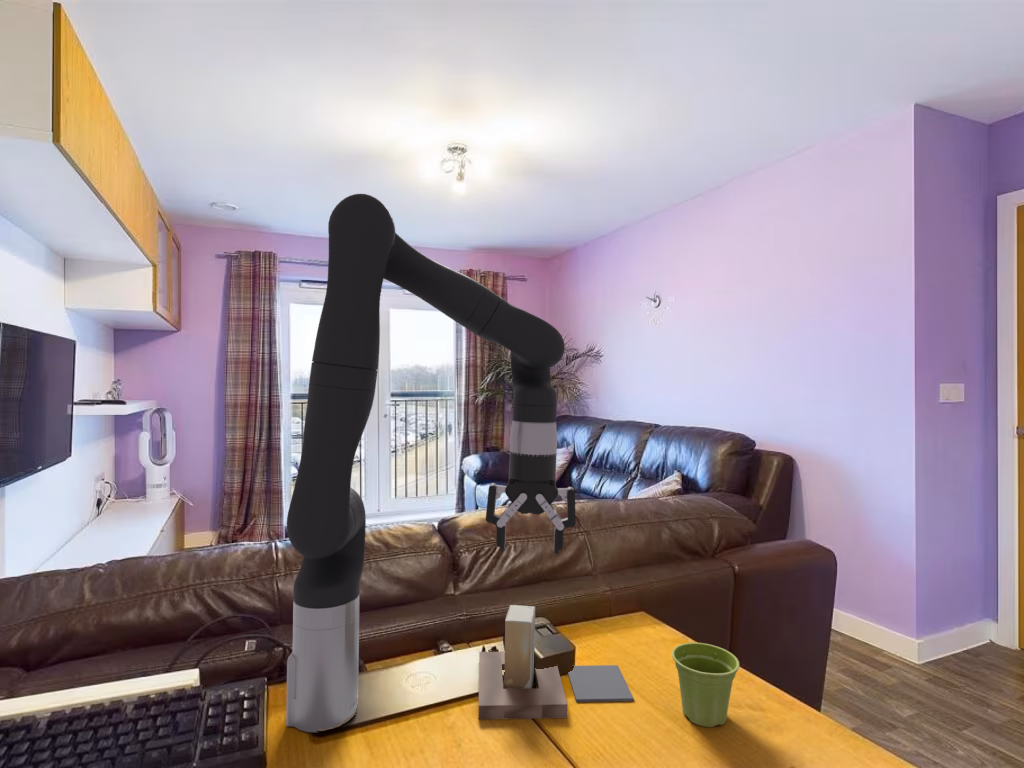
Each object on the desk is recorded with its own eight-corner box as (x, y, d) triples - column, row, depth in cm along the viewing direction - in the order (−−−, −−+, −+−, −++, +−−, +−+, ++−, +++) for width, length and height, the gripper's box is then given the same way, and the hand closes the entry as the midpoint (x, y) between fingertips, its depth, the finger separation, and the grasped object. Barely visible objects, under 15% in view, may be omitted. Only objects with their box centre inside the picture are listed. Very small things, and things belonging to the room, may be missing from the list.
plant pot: (737, 743, 74) (737, 680, 75) (666, 724, 78) (667, 664, 78) (739, 707, 83) (740, 650, 83) (676, 691, 87) (676, 637, 87)
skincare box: (508, 676, 91) (510, 603, 91) (534, 678, 90) (535, 605, 90) (502, 698, 84) (504, 619, 84) (530, 701, 84) (531, 621, 84)
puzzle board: (478, 719, 79) (478, 705, 79) (479, 663, 95) (479, 651, 95) (567, 717, 80) (567, 704, 80) (553, 662, 96) (553, 651, 96)
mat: (576, 701, 84) (576, 699, 84) (566, 668, 94) (566, 665, 94) (633, 700, 84) (633, 698, 84) (617, 667, 94) (617, 665, 94)
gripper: (486, 450, 84) (482, 556, 84) (579, 454, 83) (575, 560, 83) (490, 445, 91) (487, 542, 91) (576, 449, 90) (572, 546, 90)
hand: (529, 550), depth 87 cm, fingers open, 8 cm apart
